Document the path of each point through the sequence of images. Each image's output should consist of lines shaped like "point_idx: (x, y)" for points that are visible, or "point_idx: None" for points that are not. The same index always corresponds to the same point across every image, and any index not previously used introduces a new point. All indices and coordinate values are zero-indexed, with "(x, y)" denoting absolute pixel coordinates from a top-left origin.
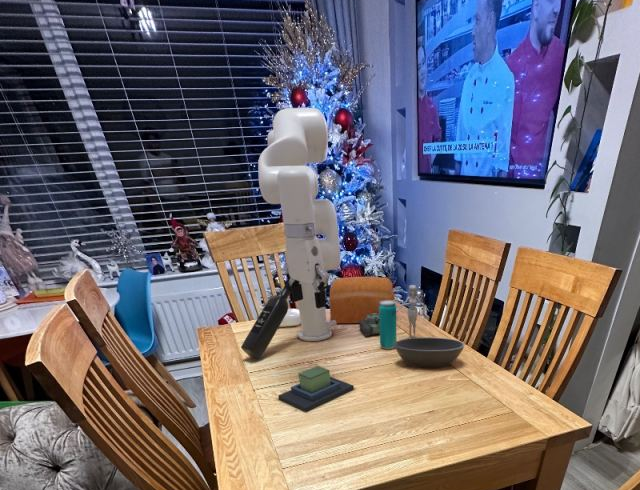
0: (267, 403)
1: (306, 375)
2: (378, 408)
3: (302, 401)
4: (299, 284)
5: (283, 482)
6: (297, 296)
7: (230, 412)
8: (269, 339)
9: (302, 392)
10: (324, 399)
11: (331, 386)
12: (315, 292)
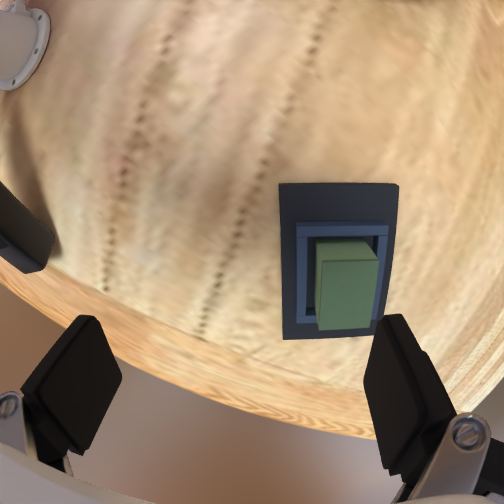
0: (279, 354)
1: (349, 325)
2: (485, 223)
3: None
4: (42, 408)
5: None
6: (103, 378)
7: (256, 399)
8: (18, 208)
9: None
10: (388, 286)
11: (383, 256)
12: (399, 471)
